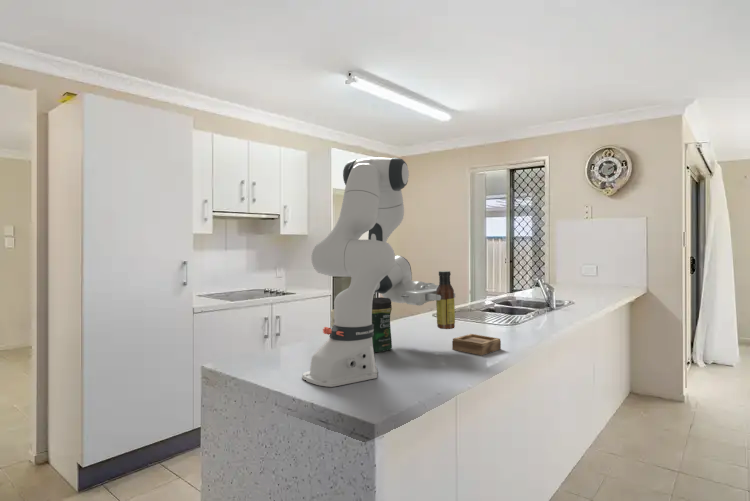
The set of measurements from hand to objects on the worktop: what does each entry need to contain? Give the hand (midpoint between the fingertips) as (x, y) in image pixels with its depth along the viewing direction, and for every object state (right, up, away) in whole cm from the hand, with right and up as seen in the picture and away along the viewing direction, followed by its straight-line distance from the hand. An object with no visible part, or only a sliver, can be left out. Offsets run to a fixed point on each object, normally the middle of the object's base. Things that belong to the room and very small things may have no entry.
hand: (447, 296), depth 159 cm
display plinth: (+11, -19, +3) cm, 22 cm away
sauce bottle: (-1, -11, +1) cm, 11 cm away
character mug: (-38, -19, +12) cm, 44 cm away
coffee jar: (-24, -19, +3) cm, 31 cm away
